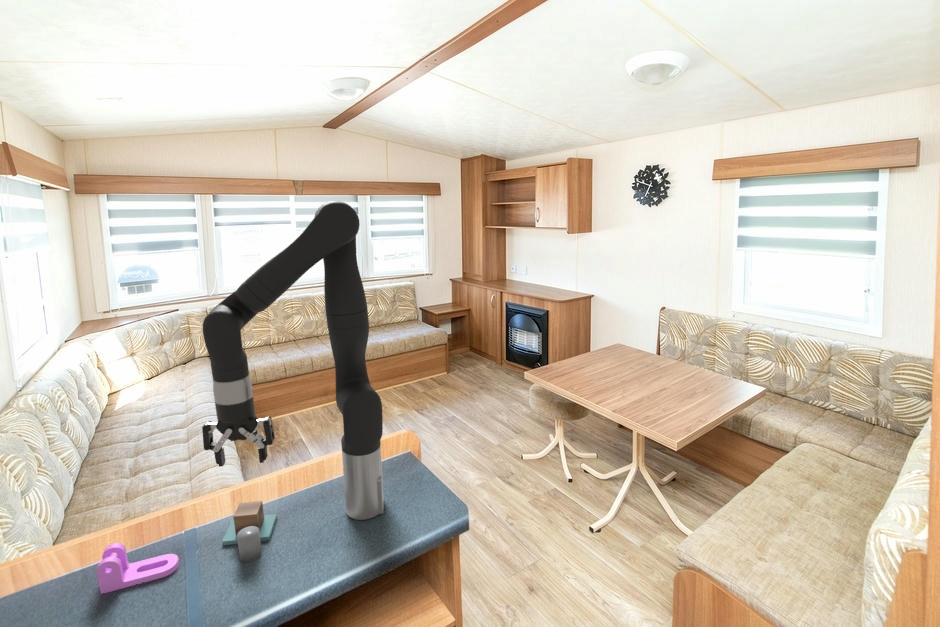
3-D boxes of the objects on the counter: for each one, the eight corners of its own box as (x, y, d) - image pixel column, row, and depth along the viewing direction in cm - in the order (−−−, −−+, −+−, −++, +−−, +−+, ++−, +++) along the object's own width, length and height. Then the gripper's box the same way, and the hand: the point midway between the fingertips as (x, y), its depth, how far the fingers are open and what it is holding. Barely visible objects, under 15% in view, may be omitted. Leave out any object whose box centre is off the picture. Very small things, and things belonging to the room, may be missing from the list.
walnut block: (259, 533, 110) (256, 514, 109) (235, 535, 110) (233, 516, 108) (264, 519, 115) (262, 500, 114) (242, 521, 114) (239, 503, 113)
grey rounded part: (263, 546, 108) (261, 525, 106) (259, 560, 104) (256, 538, 102) (242, 548, 107) (240, 527, 106) (237, 563, 103) (234, 541, 101)
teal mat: (276, 517, 117) (276, 514, 117) (269, 540, 110) (269, 536, 109) (233, 522, 116) (232, 518, 115) (222, 545, 108) (221, 541, 108)
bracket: (101, 594, 95) (94, 564, 93) (108, 574, 100) (102, 546, 98) (177, 573, 100) (172, 545, 98) (180, 556, 105) (176, 528, 103)
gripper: (191, 406, 100) (202, 475, 104) (264, 400, 102) (272, 468, 106) (204, 391, 107) (214, 457, 111) (272, 387, 109) (279, 451, 113)
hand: (242, 462), depth 108 cm, fingers open, 8 cm apart
